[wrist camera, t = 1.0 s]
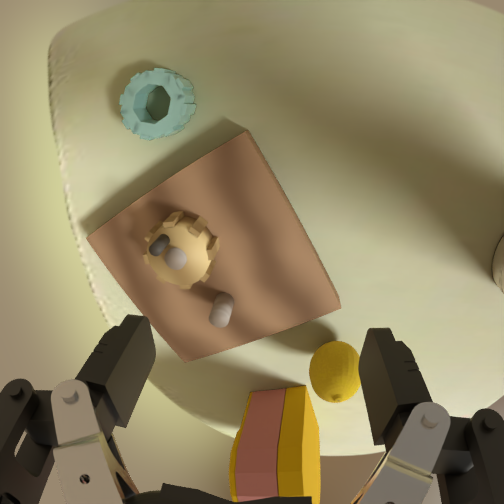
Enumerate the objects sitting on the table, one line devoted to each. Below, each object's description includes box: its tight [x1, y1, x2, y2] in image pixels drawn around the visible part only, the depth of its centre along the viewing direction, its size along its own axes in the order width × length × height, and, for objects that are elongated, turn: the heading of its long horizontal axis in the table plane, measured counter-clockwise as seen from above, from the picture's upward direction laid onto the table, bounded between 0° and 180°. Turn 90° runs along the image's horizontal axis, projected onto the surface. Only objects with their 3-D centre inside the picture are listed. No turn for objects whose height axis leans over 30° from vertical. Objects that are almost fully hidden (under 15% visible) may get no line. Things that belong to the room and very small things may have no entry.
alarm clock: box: [229, 386, 320, 504], centre depth 32 cm, size 15×8×18 cm, turn 17°
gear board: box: [86, 130, 341, 363], centre depth 27 cm, size 19×18×6 cm
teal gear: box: [119, 68, 196, 140], centre depth 23 cm, size 6×6×2 cm
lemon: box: [309, 341, 361, 403], centre depth 30 cm, size 6×6×8 cm
